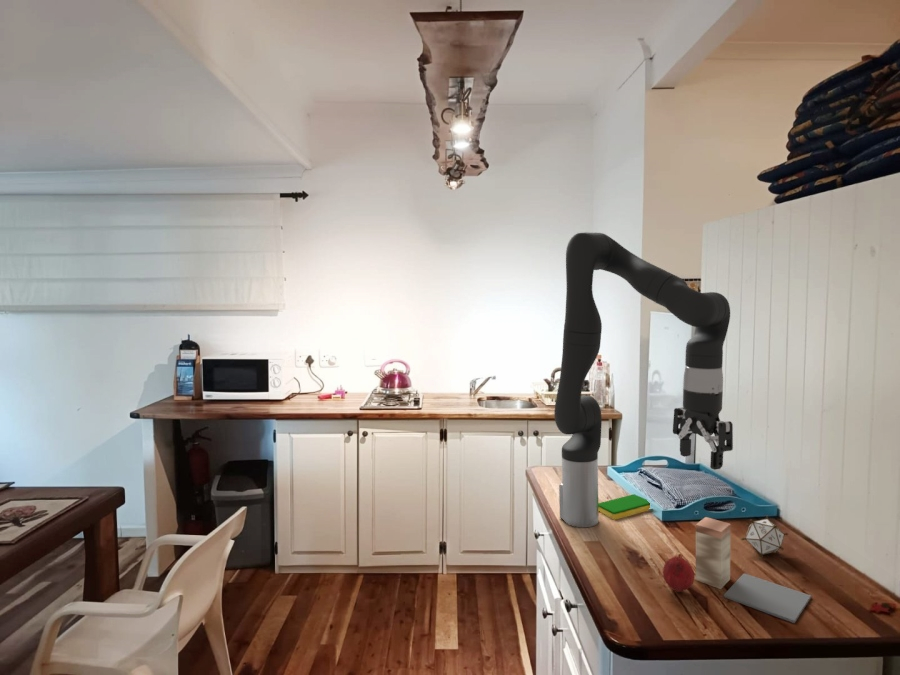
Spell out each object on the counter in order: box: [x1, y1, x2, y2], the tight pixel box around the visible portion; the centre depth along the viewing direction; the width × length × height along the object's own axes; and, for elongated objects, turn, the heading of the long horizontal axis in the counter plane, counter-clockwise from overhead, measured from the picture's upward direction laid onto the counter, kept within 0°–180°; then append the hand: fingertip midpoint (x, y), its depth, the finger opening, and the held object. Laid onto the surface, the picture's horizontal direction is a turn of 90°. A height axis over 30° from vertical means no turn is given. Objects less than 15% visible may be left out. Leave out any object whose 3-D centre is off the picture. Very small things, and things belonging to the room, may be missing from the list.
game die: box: [741, 515, 789, 559], centre depth 120 cm, size 9×8×10 cm
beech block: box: [695, 516, 732, 590], centre depth 110 cm, size 5×5×12 cm
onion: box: [662, 552, 695, 593], centre depth 107 cm, size 6×6×8 cm
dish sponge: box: [598, 493, 650, 521], centre depth 147 cm, size 7×14×2 cm, turn 115°
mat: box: [723, 572, 812, 624], centre depth 104 cm, size 12×11×1 cm
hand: (700, 462), depth 114 cm, fingers open, 8 cm apart
